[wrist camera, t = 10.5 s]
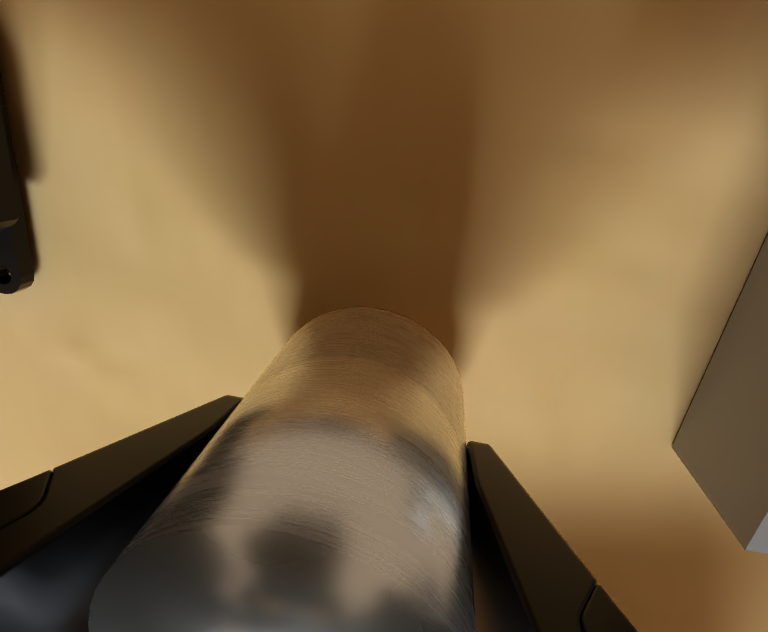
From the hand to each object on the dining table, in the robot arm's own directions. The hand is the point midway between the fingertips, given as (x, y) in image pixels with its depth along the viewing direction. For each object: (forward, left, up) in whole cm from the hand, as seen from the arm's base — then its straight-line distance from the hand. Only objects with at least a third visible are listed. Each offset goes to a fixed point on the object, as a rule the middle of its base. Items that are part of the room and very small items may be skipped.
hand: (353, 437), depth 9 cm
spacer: (0, 0, -2) cm, 2 cm away
